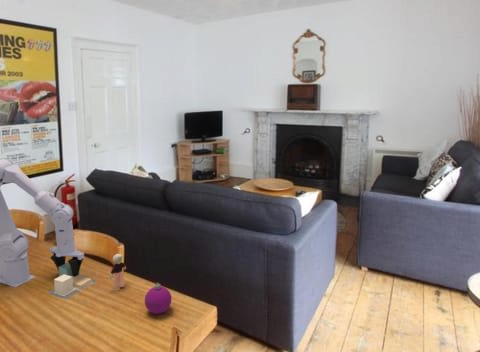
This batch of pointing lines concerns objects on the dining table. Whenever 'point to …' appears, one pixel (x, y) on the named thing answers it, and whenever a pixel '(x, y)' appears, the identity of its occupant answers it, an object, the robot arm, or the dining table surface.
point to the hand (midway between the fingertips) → (69, 274)
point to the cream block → (63, 284)
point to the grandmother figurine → (118, 272)
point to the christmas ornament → (158, 299)
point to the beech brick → (81, 282)
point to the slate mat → (71, 291)
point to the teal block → (65, 270)
